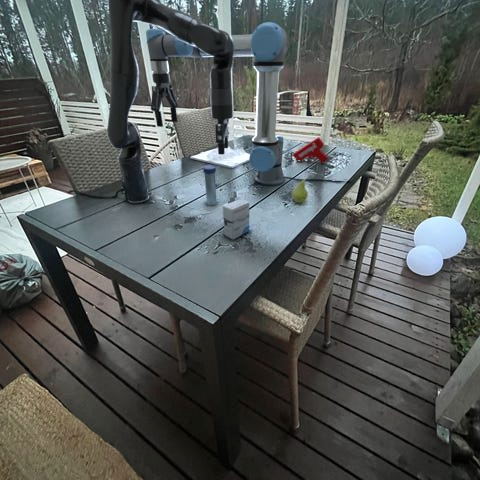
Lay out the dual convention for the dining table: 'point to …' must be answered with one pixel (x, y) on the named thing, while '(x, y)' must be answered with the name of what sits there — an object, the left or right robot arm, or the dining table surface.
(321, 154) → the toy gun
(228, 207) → the ink box
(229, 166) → the relief map
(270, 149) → the right robot arm
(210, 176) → the grey capped tube
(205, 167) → the lid
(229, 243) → the dining table surface
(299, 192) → the fruit
